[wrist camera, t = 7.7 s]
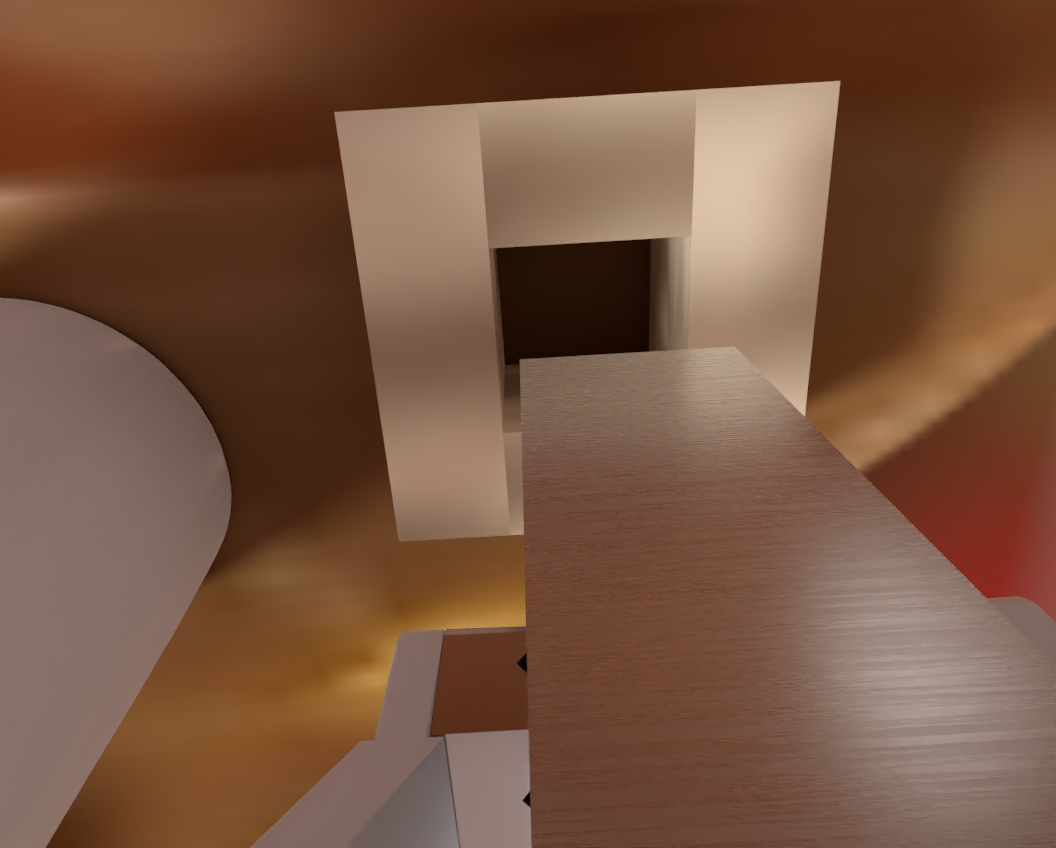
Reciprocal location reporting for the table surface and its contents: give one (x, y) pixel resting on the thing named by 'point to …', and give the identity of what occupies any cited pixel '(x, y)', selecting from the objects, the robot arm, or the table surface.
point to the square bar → (753, 632)
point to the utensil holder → (89, 545)
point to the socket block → (563, 218)
